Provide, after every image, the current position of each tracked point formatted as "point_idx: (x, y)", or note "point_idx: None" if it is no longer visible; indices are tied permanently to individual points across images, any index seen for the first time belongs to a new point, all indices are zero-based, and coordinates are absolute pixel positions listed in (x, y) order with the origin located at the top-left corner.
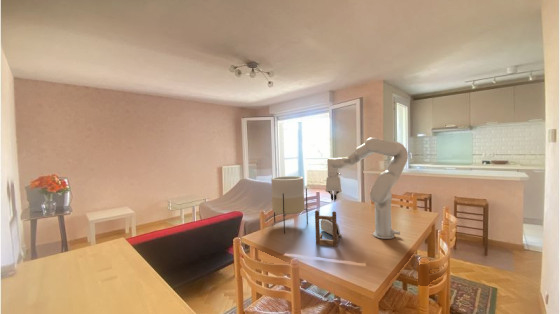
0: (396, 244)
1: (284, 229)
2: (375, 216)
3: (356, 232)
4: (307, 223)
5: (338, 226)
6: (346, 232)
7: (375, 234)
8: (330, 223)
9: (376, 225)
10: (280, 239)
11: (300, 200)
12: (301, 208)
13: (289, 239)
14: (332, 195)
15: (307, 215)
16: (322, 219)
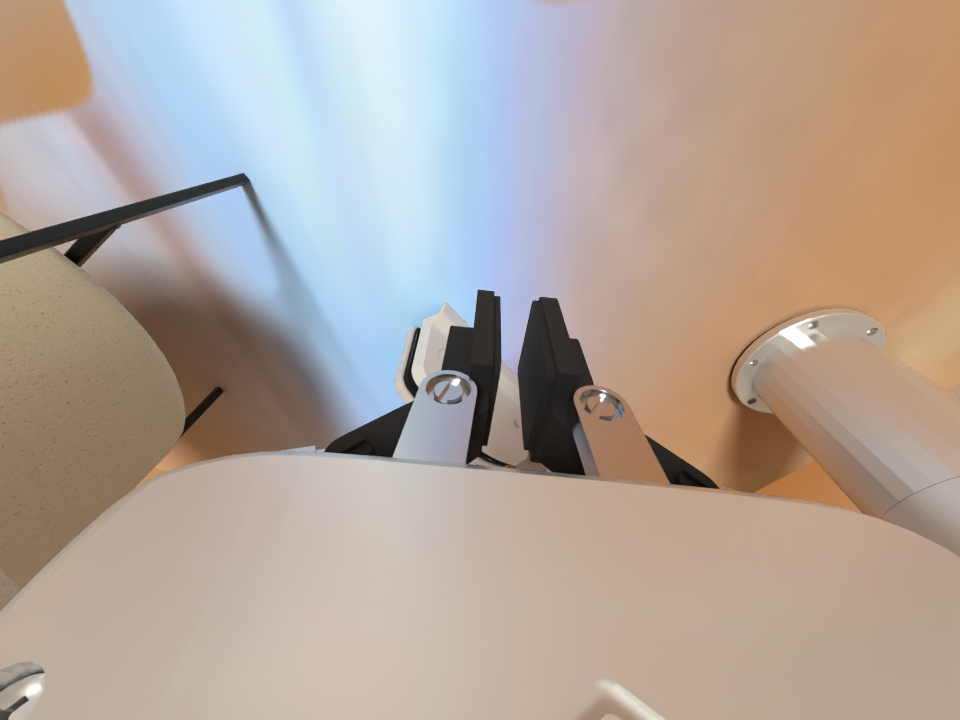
0: (777, 446)
1: (206, 409)
2: (843, 471)
3: (647, 328)
4: (242, 184)
5: (526, 454)
6: (578, 336)
7: (744, 385)
8: (476, 463)
9: (791, 425)
10: (257, 449)
11: (73, 531)
12: (159, 435)
13: (294, 446)
14: (483, 444)
15: (186, 200)
16: (407, 392)
